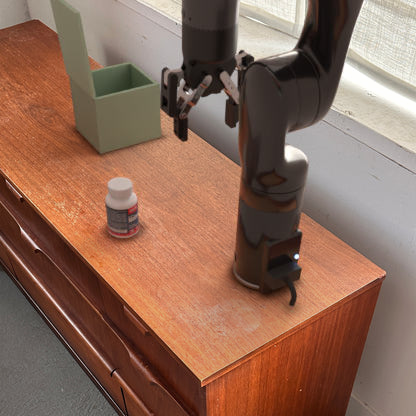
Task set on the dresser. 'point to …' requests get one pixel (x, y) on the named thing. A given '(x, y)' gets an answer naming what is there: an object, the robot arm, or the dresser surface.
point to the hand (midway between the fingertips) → (206, 132)
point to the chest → (118, 108)
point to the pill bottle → (122, 208)
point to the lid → (73, 44)
